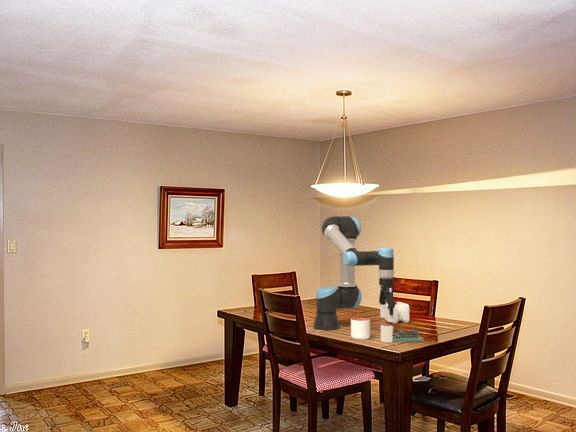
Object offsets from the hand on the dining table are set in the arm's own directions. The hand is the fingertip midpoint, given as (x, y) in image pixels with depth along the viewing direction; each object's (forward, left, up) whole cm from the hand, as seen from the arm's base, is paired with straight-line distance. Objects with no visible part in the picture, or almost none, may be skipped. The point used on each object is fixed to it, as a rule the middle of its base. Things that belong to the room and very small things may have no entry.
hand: (386, 319), depth 286 cm
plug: (0, 0, -11) cm, 11 cm away
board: (+11, +5, -11) cm, 17 cm away
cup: (-12, +9, -12) cm, 19 cm away
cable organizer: (+22, +53, -12) cm, 59 cm away
